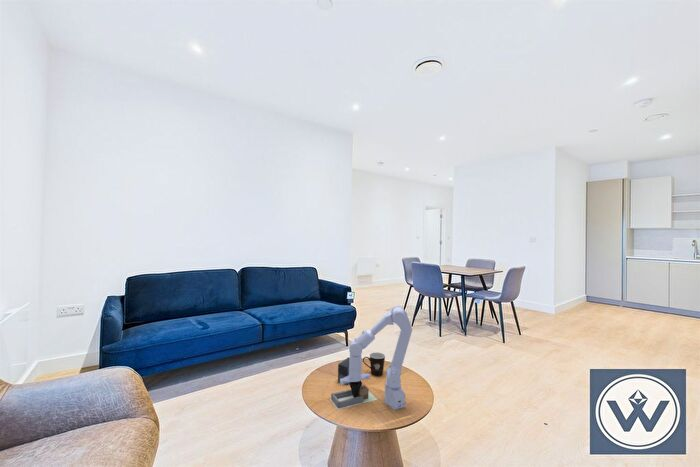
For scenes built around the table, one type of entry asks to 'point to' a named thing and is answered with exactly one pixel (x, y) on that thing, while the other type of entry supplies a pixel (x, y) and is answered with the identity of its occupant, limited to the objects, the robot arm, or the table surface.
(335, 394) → the bay board
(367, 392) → the walnut cube
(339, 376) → the small box
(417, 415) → the table surface
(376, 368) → the coffee mug
